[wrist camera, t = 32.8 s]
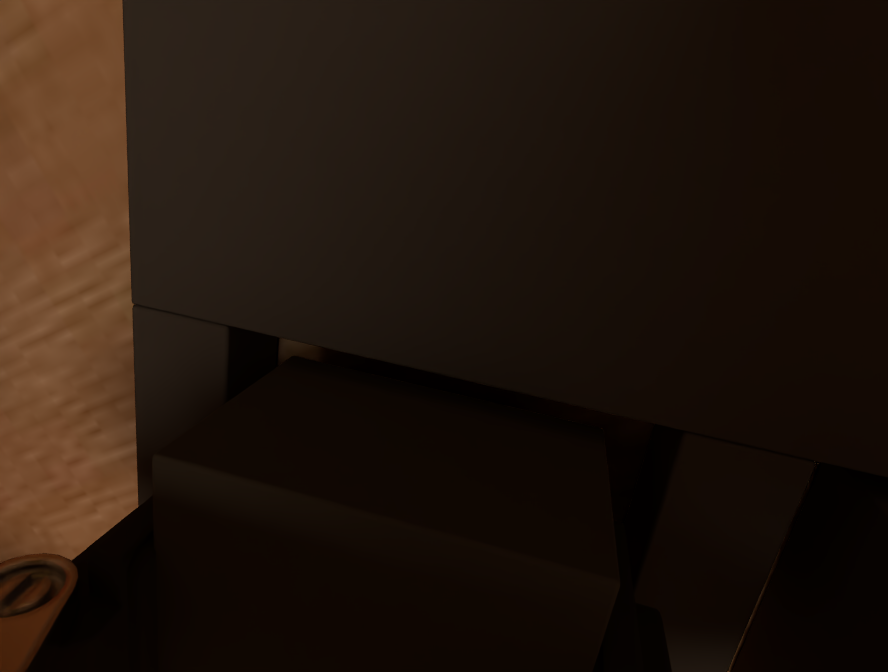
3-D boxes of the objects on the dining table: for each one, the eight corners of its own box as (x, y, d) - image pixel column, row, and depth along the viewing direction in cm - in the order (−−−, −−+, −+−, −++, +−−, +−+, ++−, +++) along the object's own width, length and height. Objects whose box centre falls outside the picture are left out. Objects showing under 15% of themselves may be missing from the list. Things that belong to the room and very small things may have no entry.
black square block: (604, 427, 10) (622, 583, 6) (535, 675, 12) (518, 907, 8) (292, 354, 11) (149, 454, 7) (275, 596, 13) (156, 772, 9)
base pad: (1876, 77, 7) (2377, 47, 5) (1186, 839, 11) (1306, 974, 9) (199, -97, 10) (115, -154, 8) (194, 542, 15) (139, 598, 13)
